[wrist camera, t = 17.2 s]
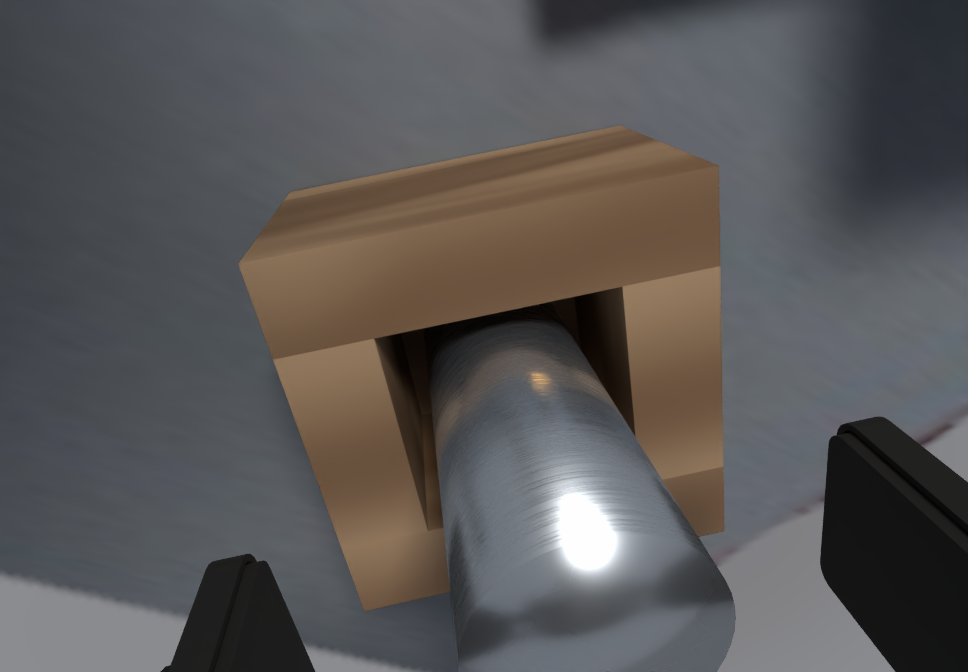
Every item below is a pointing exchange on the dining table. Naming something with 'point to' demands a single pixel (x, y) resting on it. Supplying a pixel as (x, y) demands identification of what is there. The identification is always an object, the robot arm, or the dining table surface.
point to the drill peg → (559, 514)
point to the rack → (482, 291)
